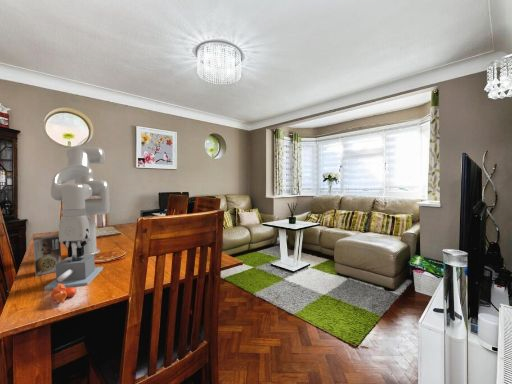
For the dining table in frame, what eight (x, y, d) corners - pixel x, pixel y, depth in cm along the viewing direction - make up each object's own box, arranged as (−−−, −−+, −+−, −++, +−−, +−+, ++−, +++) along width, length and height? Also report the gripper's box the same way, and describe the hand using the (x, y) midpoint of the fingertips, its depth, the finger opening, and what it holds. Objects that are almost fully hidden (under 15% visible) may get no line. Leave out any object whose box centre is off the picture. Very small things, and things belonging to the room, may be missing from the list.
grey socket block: (67, 272, 105) (67, 254, 104) (103, 268, 109) (102, 252, 108) (37, 294, 84) (36, 273, 83) (83, 289, 88) (82, 268, 87)
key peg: (70, 266, 96) (69, 238, 96) (75, 264, 99) (74, 236, 99) (77, 266, 96) (76, 238, 96) (82, 264, 99) (81, 236, 99)
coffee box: (61, 267, 111) (59, 234, 111) (62, 270, 107) (60, 236, 106) (34, 272, 105) (33, 237, 104) (35, 276, 100) (33, 239, 100)
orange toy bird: (51, 279, 83) (54, 291, 74) (76, 280, 88) (81, 290, 79) (45, 294, 82) (48, 307, 73) (71, 294, 87) (76, 306, 79)
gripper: (46, 214, 93) (48, 259, 94) (87, 214, 93) (89, 259, 94) (61, 212, 100) (63, 253, 101) (99, 212, 101) (101, 253, 102)
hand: (76, 255), depth 98 cm, fingers closed on key peg, 3 cm apart
